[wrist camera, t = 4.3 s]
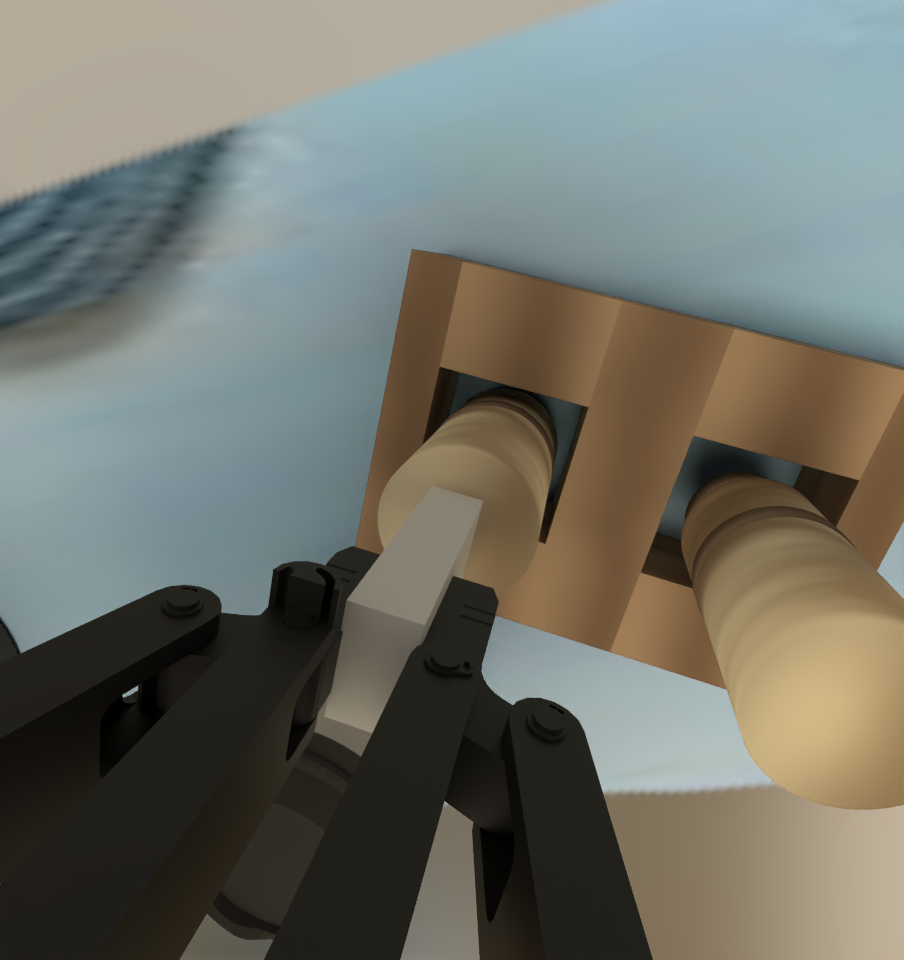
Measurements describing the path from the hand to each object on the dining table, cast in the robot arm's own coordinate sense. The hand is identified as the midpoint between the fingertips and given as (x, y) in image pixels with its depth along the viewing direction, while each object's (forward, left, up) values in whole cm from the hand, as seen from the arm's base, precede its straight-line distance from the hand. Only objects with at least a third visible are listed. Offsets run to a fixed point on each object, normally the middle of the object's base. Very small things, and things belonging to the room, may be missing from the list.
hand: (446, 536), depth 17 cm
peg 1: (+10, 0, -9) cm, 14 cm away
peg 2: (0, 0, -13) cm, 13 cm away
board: (+5, 0, -13) cm, 14 cm away
